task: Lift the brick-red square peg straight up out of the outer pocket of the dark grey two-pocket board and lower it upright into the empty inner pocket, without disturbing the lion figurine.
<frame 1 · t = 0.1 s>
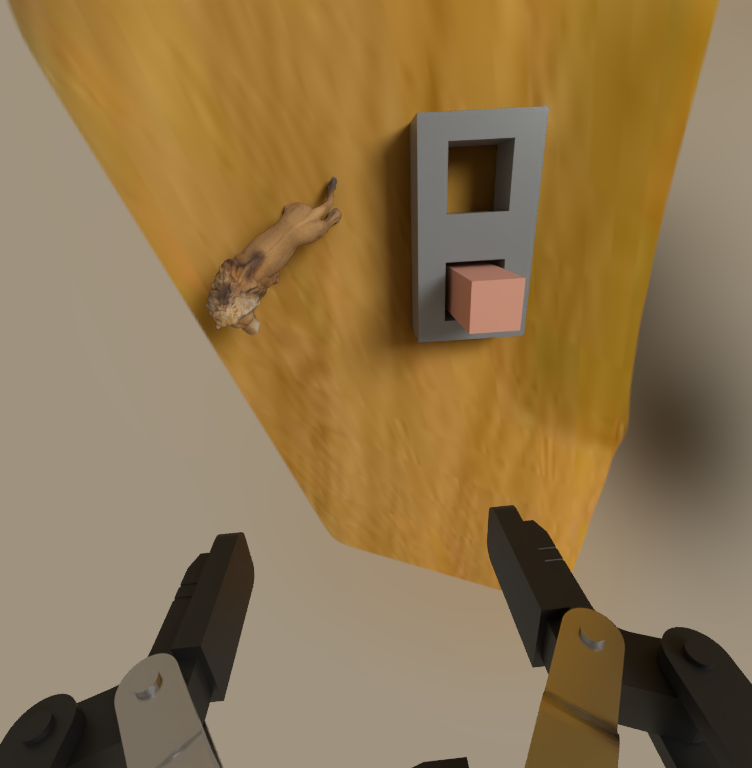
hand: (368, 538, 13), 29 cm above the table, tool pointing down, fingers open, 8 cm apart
lion figurine: (285, 251, 37), on the table
pocket board: (464, 234, 37), on the table
peg: (462, 282, 39), resting in pocket board
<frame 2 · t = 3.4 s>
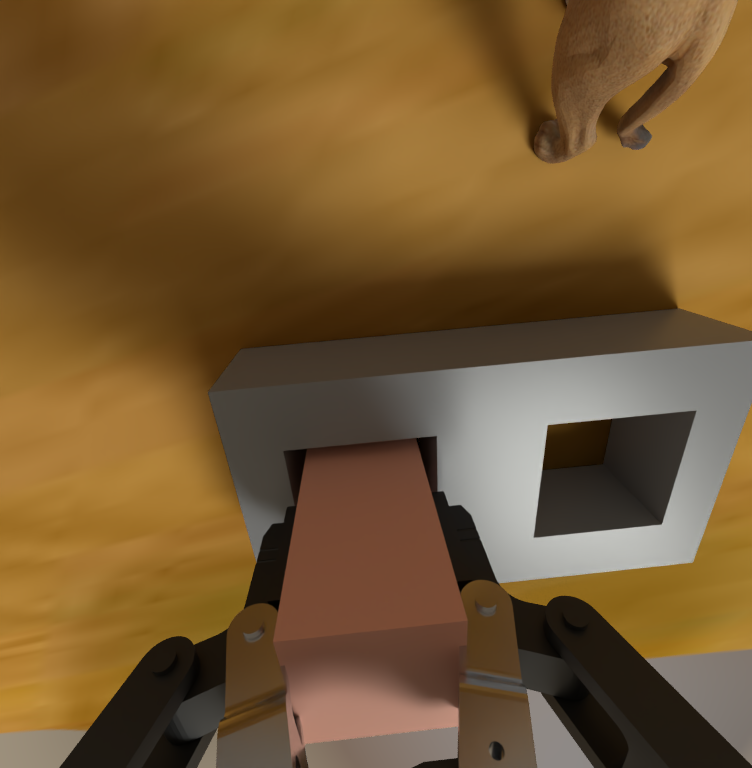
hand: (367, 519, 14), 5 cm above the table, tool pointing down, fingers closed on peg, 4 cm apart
pocket board: (461, 433, 18), on the table
peg: (363, 443, 18), resting in pocket board, touching gripper
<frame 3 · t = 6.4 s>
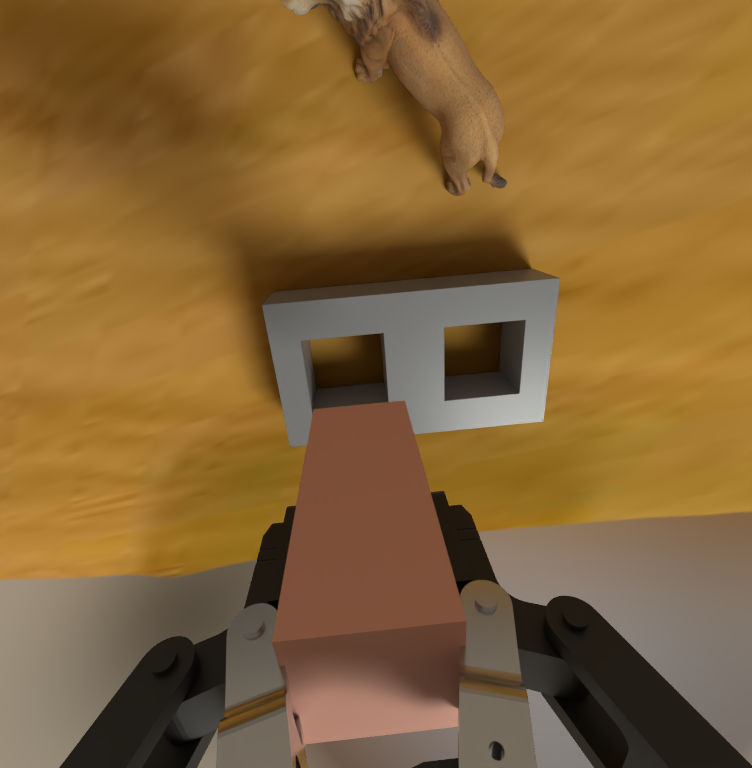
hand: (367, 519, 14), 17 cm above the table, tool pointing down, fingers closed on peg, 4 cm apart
lion figurine: (405, 97, 23), on the table
pocket board: (407, 348, 29), on the table
peg: (363, 443, 18), point 12 cm above the table, touching gripper
when the fingers open (6 cm above the table, at t = 9.7 s): peg stays where it is, resting in pocket board.
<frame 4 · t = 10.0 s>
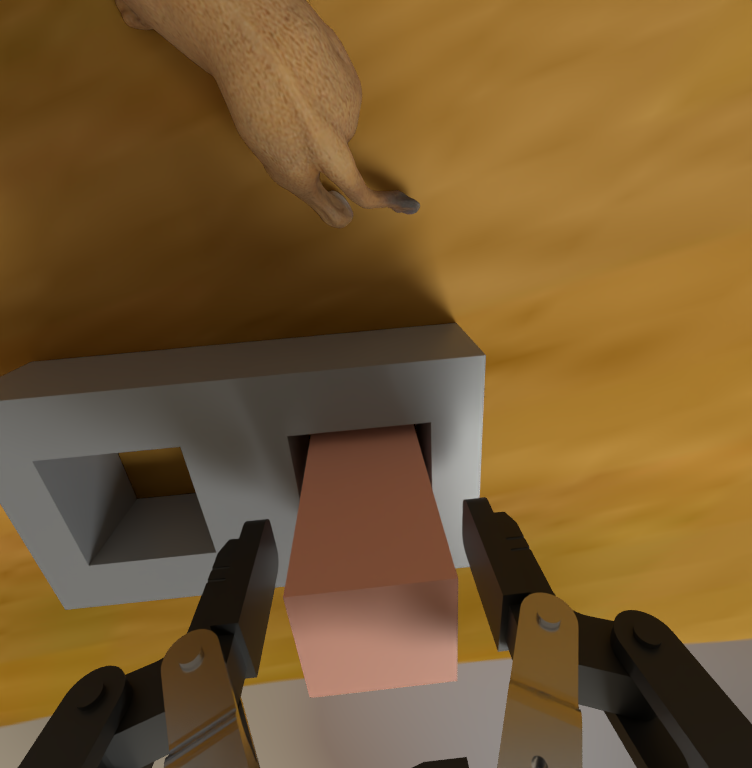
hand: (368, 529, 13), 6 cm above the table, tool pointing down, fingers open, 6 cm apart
lion figurine: (226, 58, 13), on the table
pocket board: (268, 441, 19), on the table
peg: (364, 431, 19), resting in pocket board
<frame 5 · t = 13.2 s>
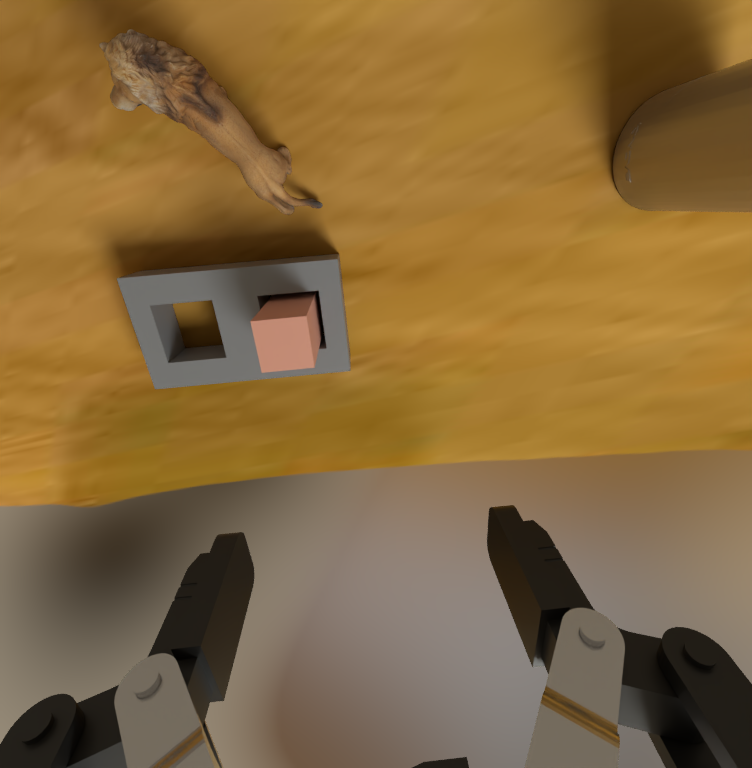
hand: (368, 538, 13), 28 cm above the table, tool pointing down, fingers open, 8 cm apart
lion figurine: (240, 147, 32), on the table
pocket board: (251, 316, 38), on the table
peg: (299, 311, 38), resting in pocket board
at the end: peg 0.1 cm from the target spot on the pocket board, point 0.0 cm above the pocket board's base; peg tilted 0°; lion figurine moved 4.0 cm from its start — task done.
